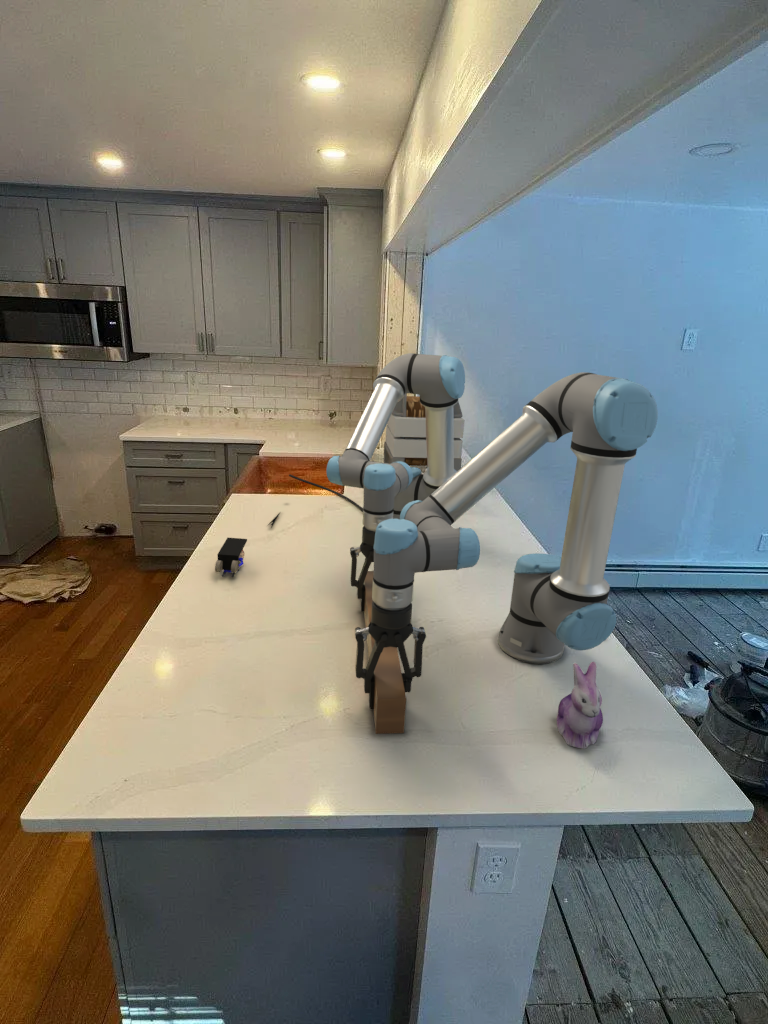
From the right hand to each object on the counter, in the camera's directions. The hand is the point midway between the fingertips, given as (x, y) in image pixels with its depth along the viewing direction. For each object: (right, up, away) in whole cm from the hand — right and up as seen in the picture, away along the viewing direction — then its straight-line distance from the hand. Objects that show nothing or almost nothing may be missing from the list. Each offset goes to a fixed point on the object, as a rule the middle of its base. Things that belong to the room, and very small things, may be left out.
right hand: (386, 704), depth 113 cm
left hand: (-3, +13, +36) cm, 38 cm away
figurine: (+37, -4, -5) cm, 37 cm away
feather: (-40, +37, +98) cm, 112 cm away
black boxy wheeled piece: (-45, +21, +55) cm, 74 cm away
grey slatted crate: (+17, +57, +162) cm, 173 cm away
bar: (-2, +6, +18) cm, 19 cm away
